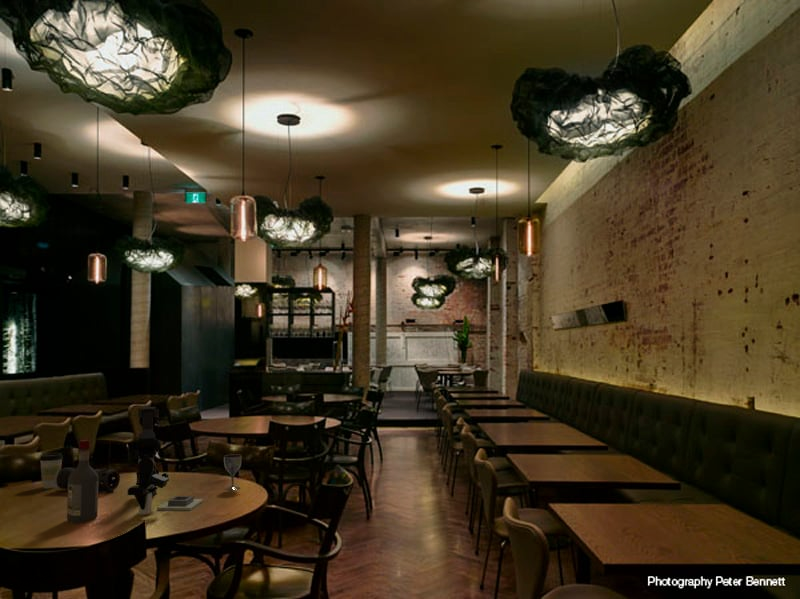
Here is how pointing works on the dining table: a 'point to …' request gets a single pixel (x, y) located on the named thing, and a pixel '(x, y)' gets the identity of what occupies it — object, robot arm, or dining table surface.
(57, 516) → the dining table surface
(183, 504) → the end holder
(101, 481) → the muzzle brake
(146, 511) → the connector plug
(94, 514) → the liquor
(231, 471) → the wine glass
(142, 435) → the robot arm
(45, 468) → the coffee cup
